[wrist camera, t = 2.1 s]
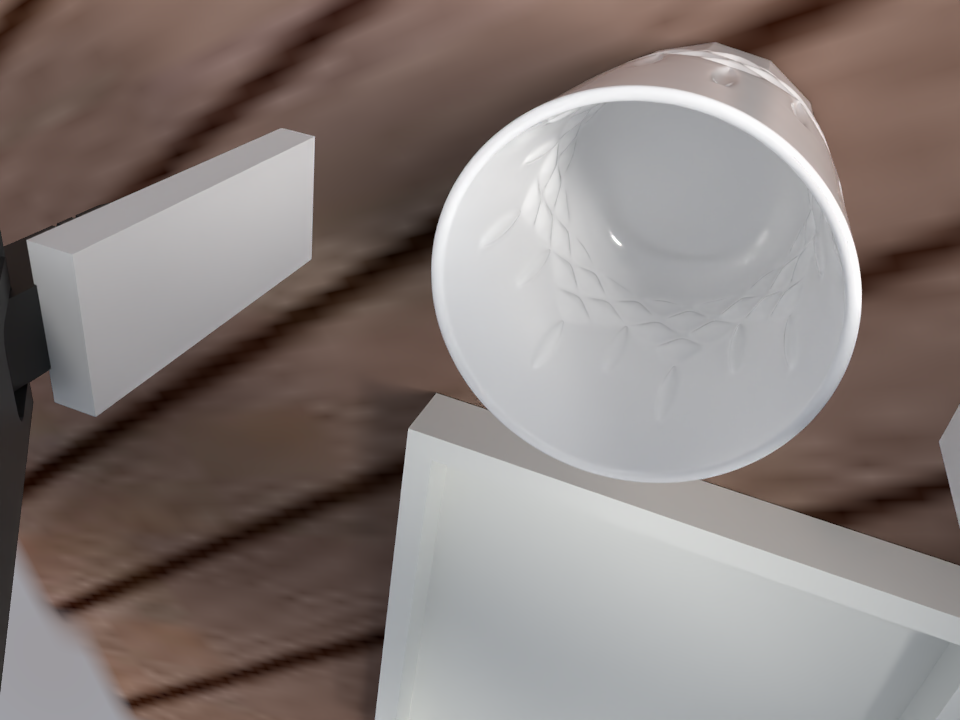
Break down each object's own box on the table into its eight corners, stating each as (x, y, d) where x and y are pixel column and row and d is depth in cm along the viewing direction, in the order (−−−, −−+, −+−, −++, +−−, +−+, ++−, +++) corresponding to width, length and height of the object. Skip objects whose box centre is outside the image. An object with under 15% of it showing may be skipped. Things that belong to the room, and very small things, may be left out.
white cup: (579, 298, 26) (469, 474, 18) (543, 42, 23) (390, 117, 15) (845, 289, 23) (858, 496, 15) (848, -7, 20) (866, 52, 12)
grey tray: (1018, 585, 26) (1035, 644, 24) (800, 898, 36) (798, 957, 34) (436, 393, 30) (408, 428, 28) (392, 720, 41) (369, 764, 39)
